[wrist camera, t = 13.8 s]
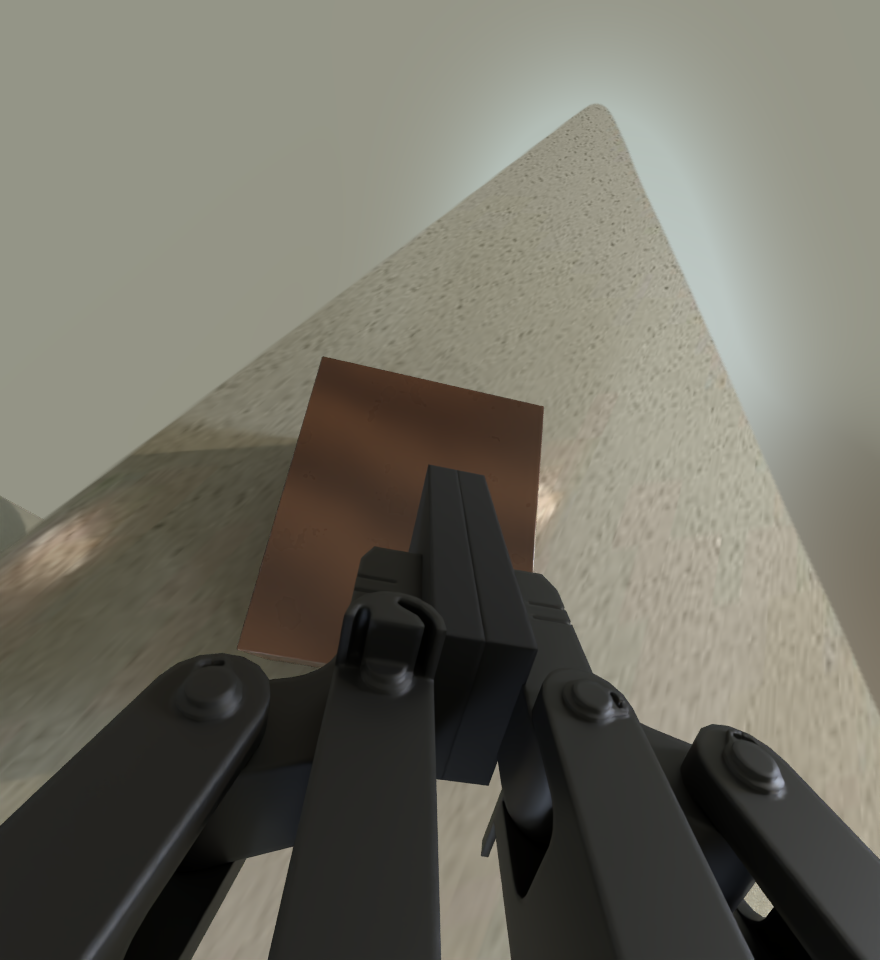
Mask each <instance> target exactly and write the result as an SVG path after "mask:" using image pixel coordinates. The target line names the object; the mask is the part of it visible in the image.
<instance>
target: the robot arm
mask: <svg viewBox="0 0 880 960" xmlns="http://www.w3.org/2000/svg"><path fill="white" fill-rule="evenodd" d="M570 622H571V621H570V619H569V617H568V614H567V612H566V610H564V605H563V603H562V600H561V598H560V596H559V593H558V591H557V590H556V588H555V587H554V586H553V585H552V584H551V583H550V582H549V581H548V580H547V579H546V578H545V577H544V576H543V575H542V574H538V573H532V572H527V571H521V570H515V569H513V566H512V563H511V559H510V556H509V553H508V550H507V546H506V543H505V540H504V537H503V534H502V530H501V527H500V524H499V521H498V517H497V514H496V511H495V508H494V504H493V501H492V498H491V495H490V491H489V488H488V485H487V482H486V479H485V475H480V474H475V473H470V472H465V471H460V470H455V469H450V468H445V467H440V466H434V465H429V464H428V468H427V472H426V477H425V481H424V486H423V490H422V494H421V499H420V503H419V508H418V512H417V517H416V521H415V525H414V530H413V534H412V539H411V543H410V547H409V552H404V551H398V550H393V549H387V548H381V547H376V546H374V547H373V548H372V549H371V550H369V551H368V552H367V553H366V554H365V555H364V556H363V557H361V560H360V564H359V569H358V573H357V577H356V582H355V586H354V591H353V595H352V599H351V603H350V605H349V607H348V608H347V610H346V612H345V614H344V618H343V623H342V629H341V634H340V640H339V646H338V651H337V654H336V655H335V656H334V657H333V659H332V660H331V661H330V662H328V663H327V664H326V665H324V666H323V667H321V668H320V669H318V670H315V671H313V672H310V673H308V674H305V675H300V676H295V677H290V678H281V679H272V680H269V679H268V677H267V676H266V674H265V673H264V672H263V670H262V669H261V668H260V666H259V665H257V664H255V663H253V662H252V661H250V660H248V659H246V658H244V657H241V656H236V655H230V654H225V653H219V654H208V655H199V656H196V657H193V658H191V659H188V660H185V661H182V662H179V663H177V664H176V665H174V666H173V667H171V668H170V669H168V670H167V671H165V672H164V673H163V674H161V675H160V676H158V677H157V678H156V679H155V680H154V681H153V682H152V683H151V684H150V685H149V686H148V687H147V688H146V689H145V690H144V691H143V692H141V693H140V694H139V695H138V696H137V697H136V698H135V699H134V700H133V701H132V702H131V703H130V704H129V705H128V706H127V707H126V708H125V709H123V710H122V711H121V712H120V713H119V714H118V715H117V716H116V717H115V718H114V719H113V720H112V721H111V722H110V723H109V724H108V725H107V726H105V727H104V728H103V729H102V730H101V731H100V732H99V733H98V734H97V735H96V736H95V737H94V738H93V739H92V740H91V741H90V742H88V743H87V744H86V745H85V746H84V747H83V748H82V749H81V750H80V751H79V752H78V753H77V754H76V755H75V756H74V757H73V758H72V759H70V760H69V761H68V762H67V763H66V764H65V765H64V766H63V767H62V768H61V769H60V770H59V771H58V772H57V773H56V774H55V775H54V776H52V777H51V778H50V779H49V780H48V781H47V782H46V783H45V784H44V785H43V786H42V787H41V788H40V789H39V790H38V791H37V792H35V793H34V794H33V795H32V796H31V797H30V798H29V799H28V800H27V801H26V802H25V803H24V804H23V805H22V806H21V807H20V808H19V809H17V810H16V811H15V812H14V813H13V814H12V815H11V816H10V817H9V818H8V819H7V820H6V821H5V822H4V823H3V824H2V825H1V826H0V960H191V959H192V957H193V955H194V953H195V951H196V950H197V948H198V946H199V944H200V942H201V940H202V939H203V937H204V935H205V933H206V931H207V930H208V928H209V926H210V924H211V922H212V920H213V919H214V917H215V915H216V913H217V911H218V909H219V908H220V906H221V904H222V902H223V900H224V899H225V897H226V895H227V893H228V891H229V889H230V888H231V886H232V884H233V882H234V880H235V878H236V877H237V875H238V873H239V871H240V869H241V867H242V866H243V864H244V862H245V860H246V858H249V857H253V856H257V855H261V854H265V853H269V852H273V851H277V850H281V849H285V848H289V847H293V846H294V847H293V851H292V856H291V860H290V864H289V869H288V873H287V877H286V882H285V886H284V891H283V895H282V899H281V904H280V908H279V912H278V917H277V921H276V926H275V930H274V934H273V939H272V943H271V948H270V952H269V956H268V960H441V941H440V903H439V866H438V828H437V791H436V779H440V780H448V781H456V782H464V783H471V784H479V785H487V786H489V783H490V780H491V778H492V775H493V772H494V769H495V767H496V764H497V761H498V765H499V772H500V778H501V785H502V790H501V793H500V795H499V798H498V801H497V803H496V806H495V808H494V811H493V814H492V816H491V819H490V822H489V824H488V827H487V829H486V832H485V835H484V837H483V840H482V851H481V856H484V857H488V856H489V854H490V851H491V849H492V846H493V844H494V841H495V839H496V842H497V850H498V858H499V866H500V874H501V882H502V890H503V898H504V906H505V914H506V922H507V930H508V938H509V946H510V953H511V960H880V859H879V858H878V857H877V856H876V855H875V854H874V853H873V852H872V851H871V850H870V849H869V848H868V847H867V846H866V845H865V844H864V843H863V842H862V841H861V840H860V838H859V837H858V836H857V835H856V834H855V833H854V832H853V831H852V830H851V829H850V828H849V827H848V826H847V825H846V824H845V823H844V822H843V821H842V820H841V819H840V818H839V817H838V816H837V815H836V813H835V812H834V811H833V810H832V809H831V808H830V807H829V806H828V805H827V804H826V803H825V802H824V801H823V800H822V799H821V798H820V797H819V796H818V795H817V794H816V793H815V792H814V791H813V790H812V788H811V787H810V786H809V785H808V784H807V783H806V782H805V781H804V780H803V779H802V778H801V777H800V776H799V775H798V774H797V773H796V772H795V771H794V770H793V769H792V768H791V767H790V766H789V764H788V763H787V762H785V761H784V760H783V759H782V758H781V757H780V756H779V755H777V754H776V753H775V752H774V751H773V750H772V749H771V748H769V747H768V746H767V745H765V744H764V743H762V742H760V741H759V740H757V739H756V738H754V737H753V736H751V735H749V734H748V733H745V732H742V731H740V730H737V729H735V728H732V727H730V726H724V725H715V724H711V725H709V726H706V727H703V728H701V729H700V731H699V733H698V735H697V736H696V738H695V740H694V742H693V744H689V743H687V742H684V741H682V740H679V739H677V738H674V737H672V736H670V735H667V734H665V733H662V732H660V731H657V730H655V729H652V728H650V727H648V726H646V725H644V724H642V723H640V722H639V720H638V718H637V716H636V714H635V712H634V710H633V708H632V707H631V705H630V704H629V702H628V701H627V699H626V698H625V697H624V695H623V694H622V693H621V692H619V691H618V690H617V689H616V688H615V687H614V686H613V685H612V684H610V683H609V682H608V681H606V680H604V679H602V678H600V677H599V676H597V675H595V674H593V673H592V670H591V668H590V666H589V663H588V661H587V659H586V656H585V654H584V652H583V649H582V647H581V645H580V642H579V640H578V638H577V635H576V633H575V631H574V628H573V626H572V625H570ZM755 882H756V883H757V884H758V886H759V887H760V888H761V890H762V891H763V892H764V894H765V895H766V897H767V898H768V899H769V901H770V902H771V903H772V905H773V906H774V908H773V909H772V910H771V912H770V913H769V914H768V915H767V917H762V916H761V915H759V914H758V913H756V912H755V911H753V910H752V908H751V907H750V906H749V905H748V904H747V903H746V901H745V900H744V897H745V896H746V894H747V893H748V892H749V890H750V889H751V888H752V886H753V885H754V883H755Z"/></svg>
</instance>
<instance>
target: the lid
mask: <svg viewBox="0 0 880 960" xmlns="http://www.w3.org/2000/svg"><path fill="white" fill-rule="evenodd" d="M543 414H544V407H543V406H539V405H535V404H530V403H526V402H521V401H517V400H513V399H508V398H504V397H499V396H495V395H491V394H486V393H482V392H477V391H473V390H469V389H464V388H460V387H455V386H451V385H446V384H442V383H438V382H433V381H429V380H424V379H420V378H416V377H411V376H407V375H402V374H398V373H394V372H389V371H385V370H380V369H376V368H371V367H367V366H363V365H358V364H354V363H349V362H345V361H341V360H336V359H332V358H327V357H322V359H321V362H320V366H319V369H318V373H317V376H316V379H315V383H314V386H313V390H312V393H311V397H310V400H309V403H308V407H307V410H306V414H305V417H304V420H303V424H302V427H301V431H300V434H299V437H298V441H297V444H296V448H295V451H294V455H293V458H292V461H291V465H290V468H289V472H288V475H287V478H286V482H285V485H284V489H283V492H282V496H281V499H280V502H279V506H278V509H277V513H276V516H275V519H274V523H273V526H272V530H271V533H270V536H269V540H268V543H267V547H266V550H265V554H264V557H263V560H262V564H261V567H260V571H259V574H258V577H257V581H256V584H255V588H254V591H253V595H252V598H251V601H250V605H249V608H248V612H247V615H246V618H245V622H244V625H243V629H242V632H241V635H240V639H239V642H238V646H237V650H239V651H244V652H250V653H257V654H263V655H269V656H276V657H282V658H288V659H295V660H301V661H307V662H313V663H320V664H327V663H328V662H330V661H331V660H332V659H333V657H334V656H335V655H336V654H337V651H338V646H339V640H340V634H341V629H342V623H343V618H344V614H345V612H346V610H347V608H348V607H349V605H350V603H351V599H352V595H353V591H354V586H355V582H356V577H357V573H358V569H359V564H360V560H361V557H363V556H364V555H365V554H366V553H367V552H368V551H369V550H371V549H372V548H373V547H374V546H376V547H381V548H387V549H393V550H398V551H404V552H409V547H410V543H411V539H412V534H413V530H414V525H415V521H416V517H417V512H418V508H419V503H420V499H421V494H422V490H423V486H424V481H425V477H426V472H427V468H428V464H429V465H434V466H440V467H445V468H450V469H455V470H460V471H465V472H470V473H475V474H480V475H485V479H486V482H487V485H488V488H489V491H490V495H491V498H492V501H493V504H494V508H495V511H496V514H497V517H498V521H499V524H500V527H501V530H502V534H503V537H504V540H505V543H506V546H507V550H508V553H509V556H510V559H511V563H512V566H513V569H515V570H521V571H527V572H532V573H533V566H534V550H535V535H536V520H537V505H538V490H539V474H540V459H541V444H542V429H543Z"/></svg>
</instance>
